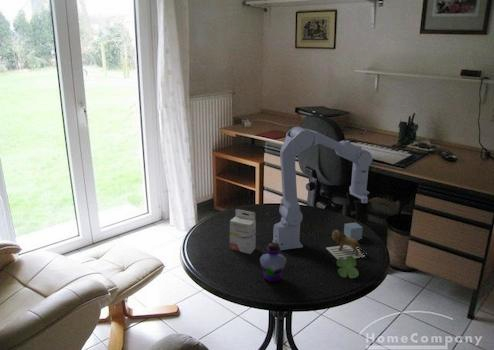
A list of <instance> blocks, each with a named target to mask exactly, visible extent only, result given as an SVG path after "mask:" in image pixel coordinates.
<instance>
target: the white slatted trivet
mask: <svg viewBox="0 0 494 350" xmlns="http://www.w3.org/2000/svg"><path fill="white" fill-rule="evenodd" d="M357 248H358V247H357ZM325 249H326V250H327V251H328V252H329V253H330V254H331V255H332V256H333V257H334V258H335V259H336V261H337V260H338V258H341V257H342V258H344V259H346V258H347V257H348V256H352V257H354V258H355V259H359V258H360V257H361V258H366V257H365V255H363V254H361V253H360V251H359V249H357V250H358V252H359V255H358V256H356V255H355V254H357V253H356V252H353V250H354V249H353V248H352V245H351V246H347V245H344V244H343V248H342V250H341V251H339V249H340V245H337V246H336V245H335V246H329V247H325Z"/></svg>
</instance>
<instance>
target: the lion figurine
mask: <svg viewBox="0 0 494 350" xmlns="http://www.w3.org/2000/svg"><path fill="white" fill-rule="evenodd" d="M331 238H332V240H334V241H335V243H336V244H339V245H338V246H340V249H339V251H341V250H342V248H343V245H347V246H351V245H352V248H353V249H354V250H353V252H356V253H357V254H355V255H356V256H358V255H359V252H358V250H357V246H358V248H359V251H360V249H361V247H360V244H359V242H358V241H359V240H356V239H351V238H348V237H346V236H345V234H344V232H342V231H340V230H338V229H335V230H332V235H331ZM360 253H361V254H364V253H362V252H361V251H360Z"/></svg>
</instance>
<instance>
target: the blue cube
mask: <svg viewBox="0 0 494 350" xmlns="http://www.w3.org/2000/svg"><path fill="white" fill-rule="evenodd" d="M363 229H364V228H363V226H361V224H359V223H357V222H349V223H344V229H343V234H345V236H346V237H348V238H351V239H356V240H357V241H361V240H360V239H362V240H363Z"/></svg>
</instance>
